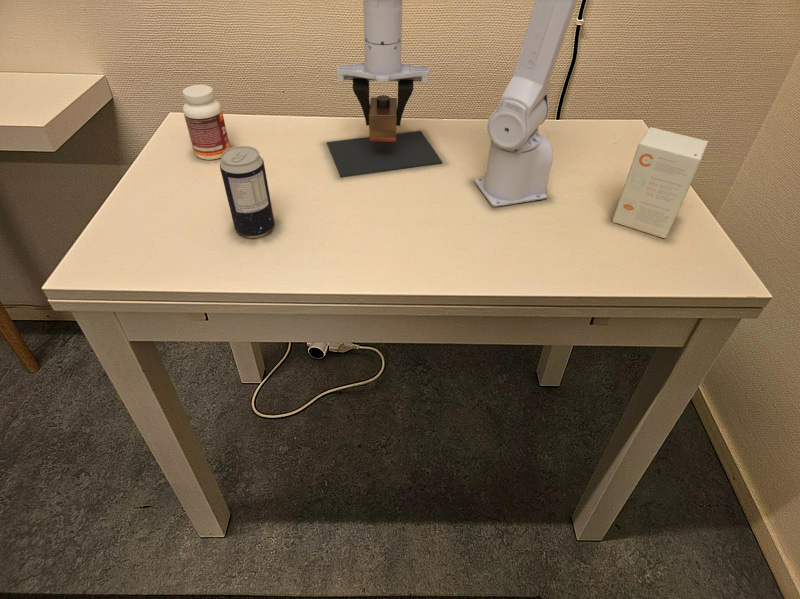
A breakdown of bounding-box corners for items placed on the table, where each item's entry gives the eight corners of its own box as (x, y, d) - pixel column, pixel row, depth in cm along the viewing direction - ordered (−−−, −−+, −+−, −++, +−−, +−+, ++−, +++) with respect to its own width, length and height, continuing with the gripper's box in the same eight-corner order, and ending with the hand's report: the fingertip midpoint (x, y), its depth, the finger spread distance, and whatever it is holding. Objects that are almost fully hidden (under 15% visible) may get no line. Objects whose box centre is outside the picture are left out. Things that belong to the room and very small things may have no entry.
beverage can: (282, 222, 79) (270, 148, 71) (263, 244, 75) (247, 169, 67) (248, 215, 80) (232, 141, 72) (228, 236, 76) (208, 161, 68)
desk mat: (420, 132, 101) (420, 130, 101) (442, 163, 93) (442, 161, 92) (326, 144, 97) (326, 141, 97) (340, 177, 89) (340, 175, 88)
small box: (674, 219, 82) (710, 140, 73) (665, 240, 78) (702, 159, 69) (621, 202, 85) (650, 125, 76) (610, 222, 81) (638, 142, 72)
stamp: (396, 123, 94) (397, 89, 90) (396, 141, 89) (396, 107, 85) (371, 122, 94) (370, 88, 90) (369, 141, 89) (368, 106, 85)
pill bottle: (236, 155, 93) (222, 93, 86) (201, 164, 91) (184, 101, 83) (223, 140, 97) (209, 79, 89) (190, 149, 94) (172, 87, 87)
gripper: (333, 46, 78) (338, 133, 88) (431, 49, 79) (426, 134, 88) (337, 31, 84) (342, 114, 93) (429, 33, 84) (424, 116, 93)
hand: (383, 123), depth 91 cm, fingers closed on stamp, 4 cm apart
